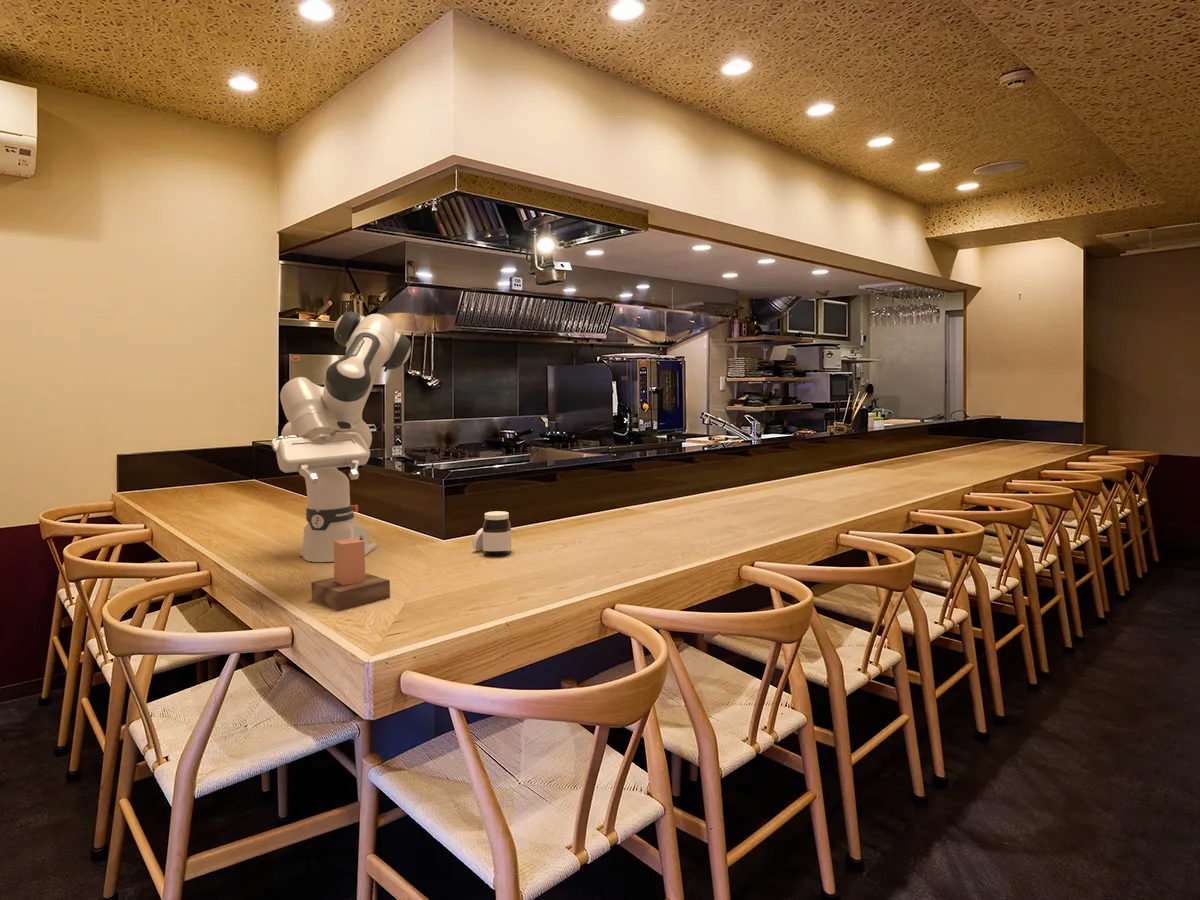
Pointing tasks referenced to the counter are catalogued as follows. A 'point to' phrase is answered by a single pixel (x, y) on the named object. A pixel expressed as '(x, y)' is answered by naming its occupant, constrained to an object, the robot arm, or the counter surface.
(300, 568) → the counter surface
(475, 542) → the spread jar
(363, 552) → the terracotta block
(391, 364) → the robot arm
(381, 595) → the walnut slab
